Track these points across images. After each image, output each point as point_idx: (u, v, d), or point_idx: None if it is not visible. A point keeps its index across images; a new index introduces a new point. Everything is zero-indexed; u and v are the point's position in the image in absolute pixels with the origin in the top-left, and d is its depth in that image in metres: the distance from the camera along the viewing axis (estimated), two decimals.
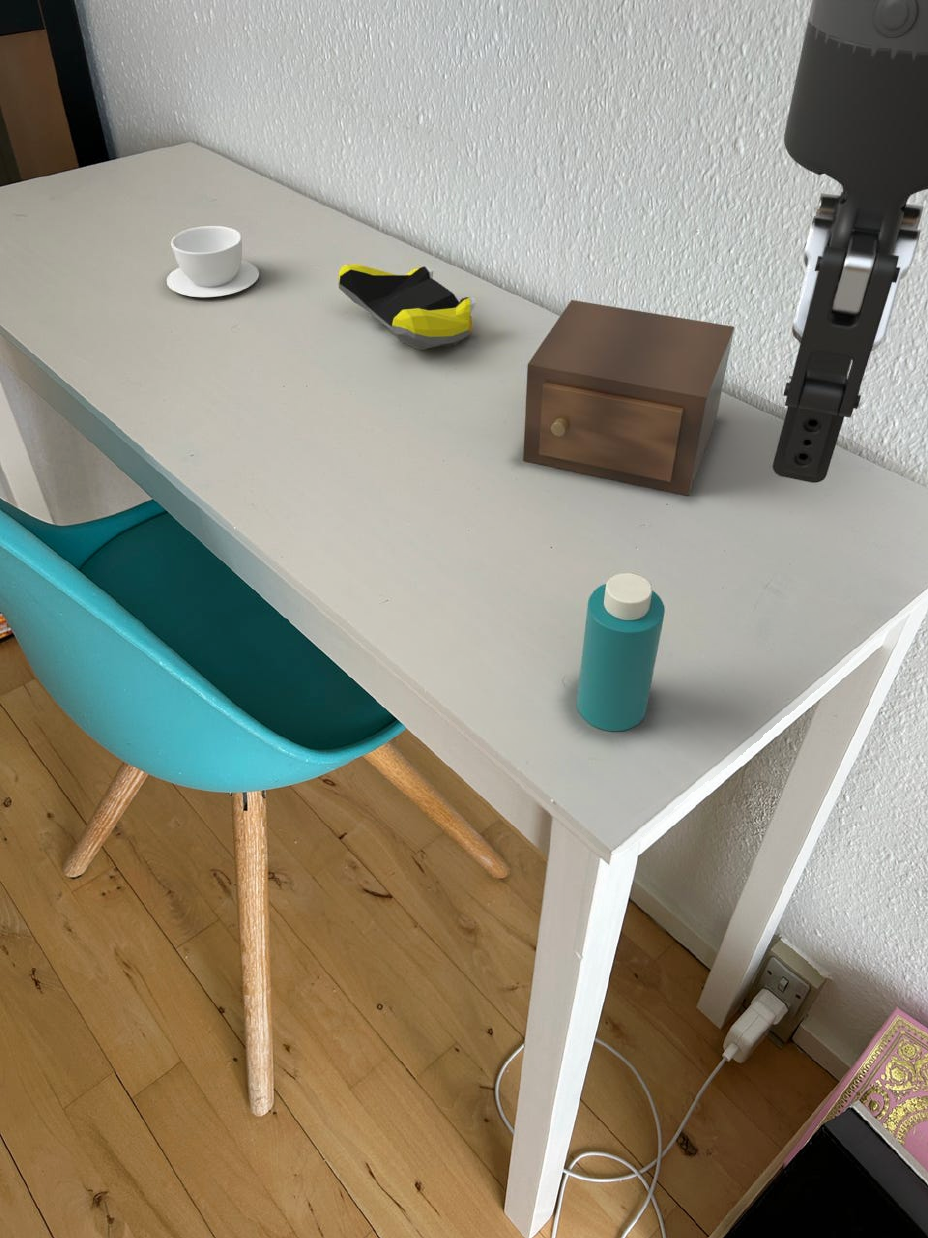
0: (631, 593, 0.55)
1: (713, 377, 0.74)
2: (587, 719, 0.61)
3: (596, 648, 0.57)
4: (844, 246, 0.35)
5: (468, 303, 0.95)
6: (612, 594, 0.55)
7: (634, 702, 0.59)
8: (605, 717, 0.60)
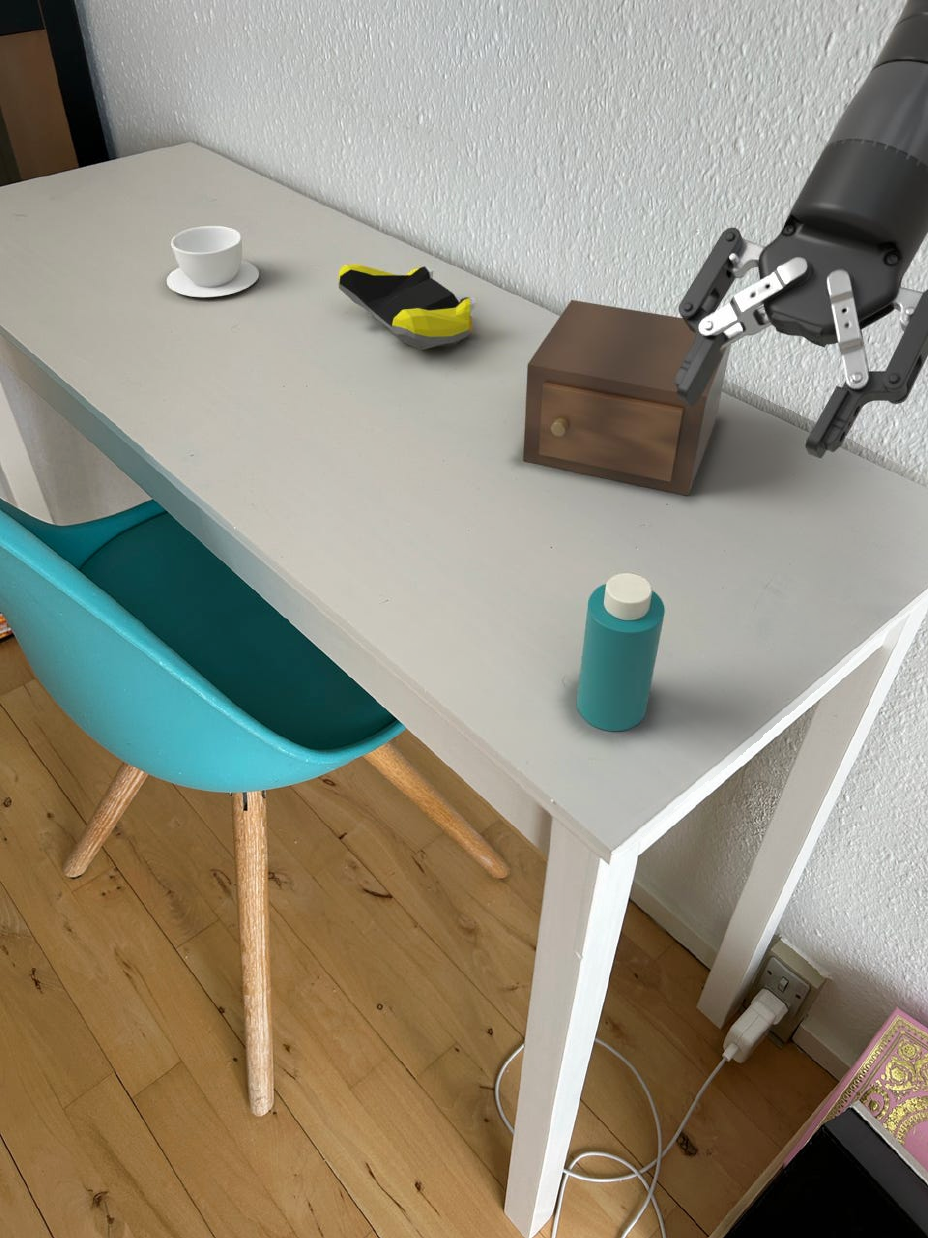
0: (631, 593, 0.55)
1: (713, 377, 0.74)
2: (587, 719, 0.61)
3: (596, 648, 0.57)
4: None
5: (468, 303, 0.95)
6: (612, 594, 0.55)
7: (634, 702, 0.59)
8: (605, 717, 0.60)
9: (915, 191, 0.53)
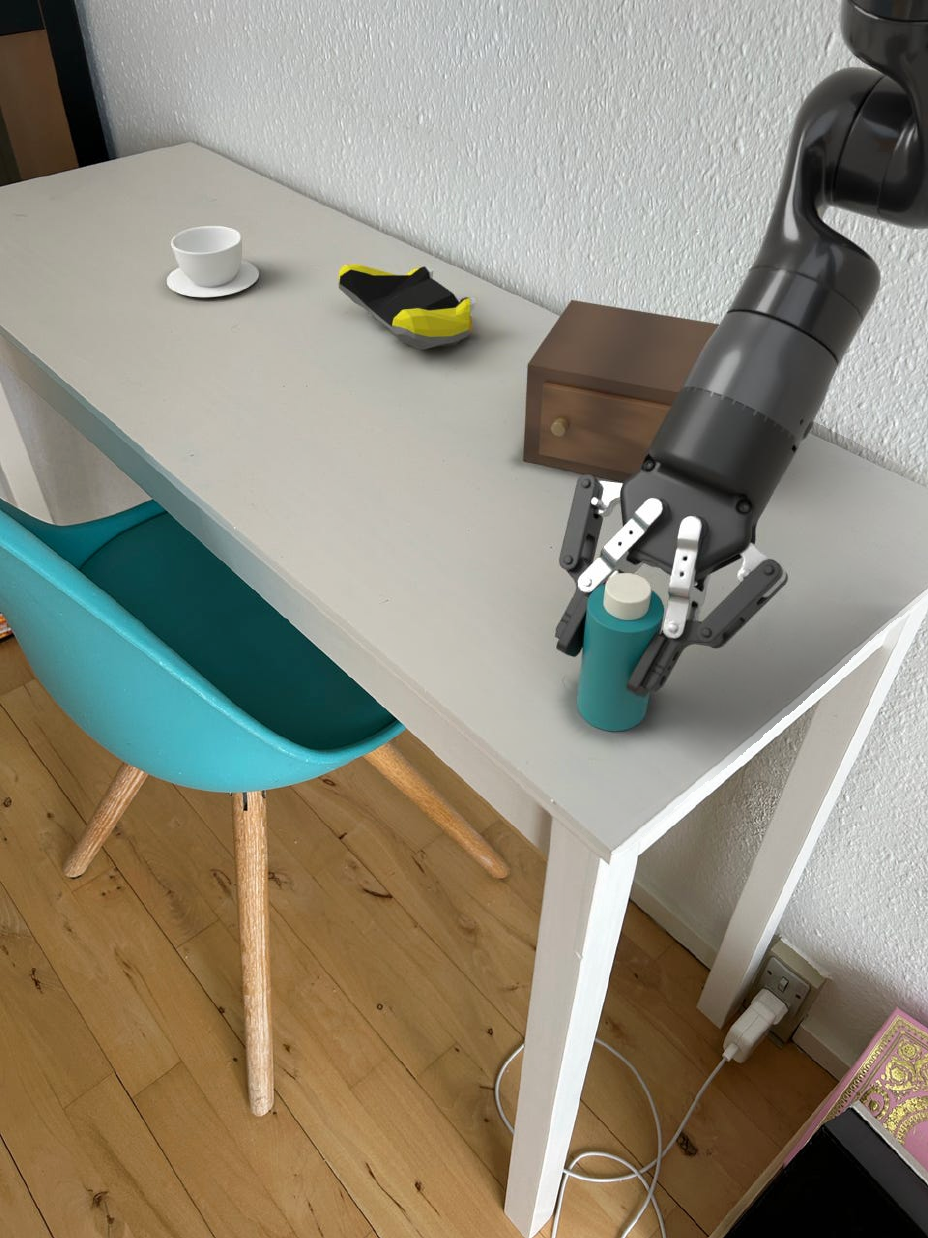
0: (630, 593, 0.55)
1: None
2: (587, 719, 0.61)
3: (596, 648, 0.57)
4: None
5: (468, 303, 0.95)
6: (611, 594, 0.55)
7: (634, 702, 0.59)
8: (605, 717, 0.60)
9: (763, 446, 0.53)
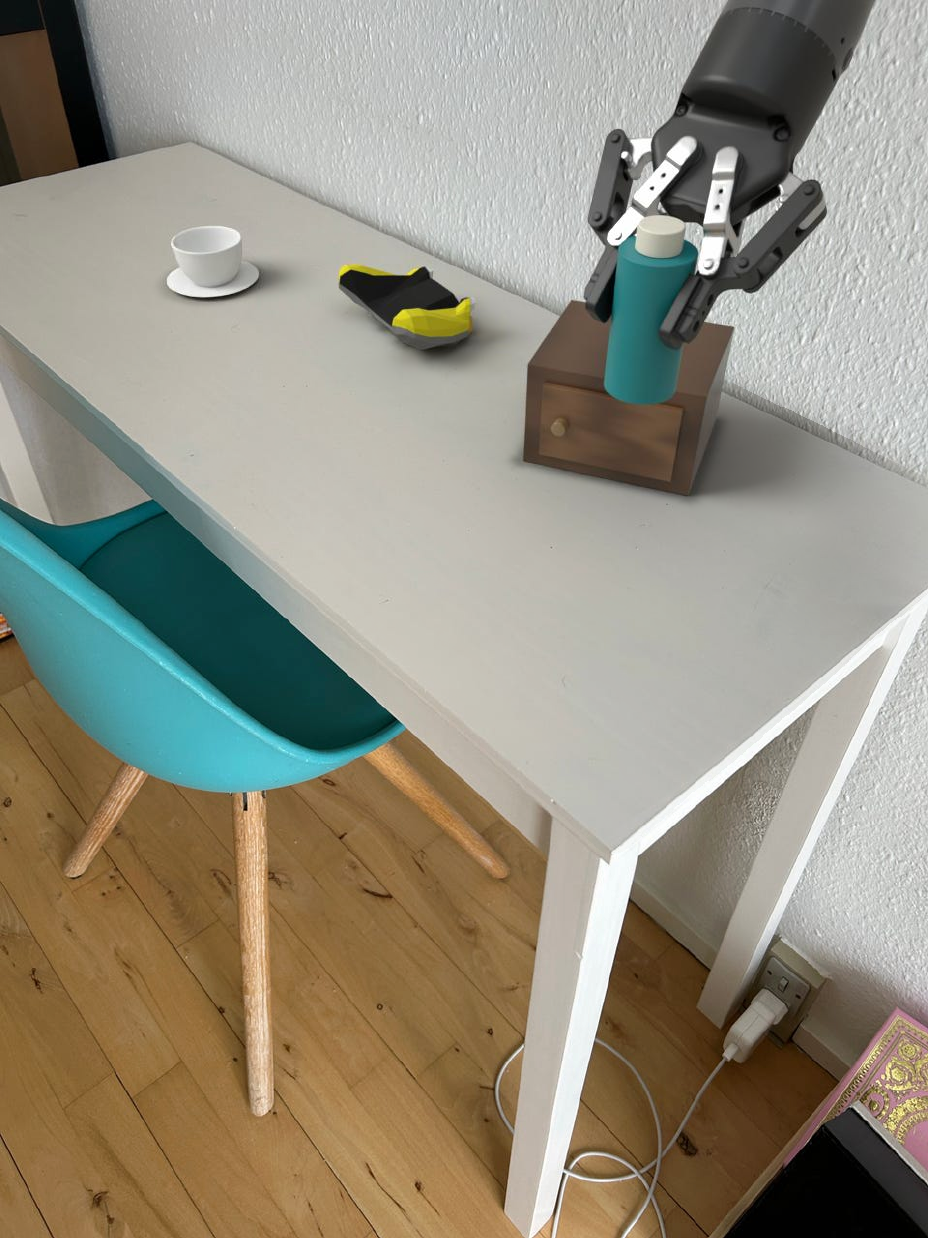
0: (664, 227, 0.53)
1: (713, 377, 0.74)
2: (615, 394, 0.59)
3: (627, 295, 0.55)
4: None
5: (468, 303, 0.95)
6: (644, 228, 0.53)
7: (665, 365, 0.57)
8: (634, 386, 0.58)
9: (803, 60, 0.51)
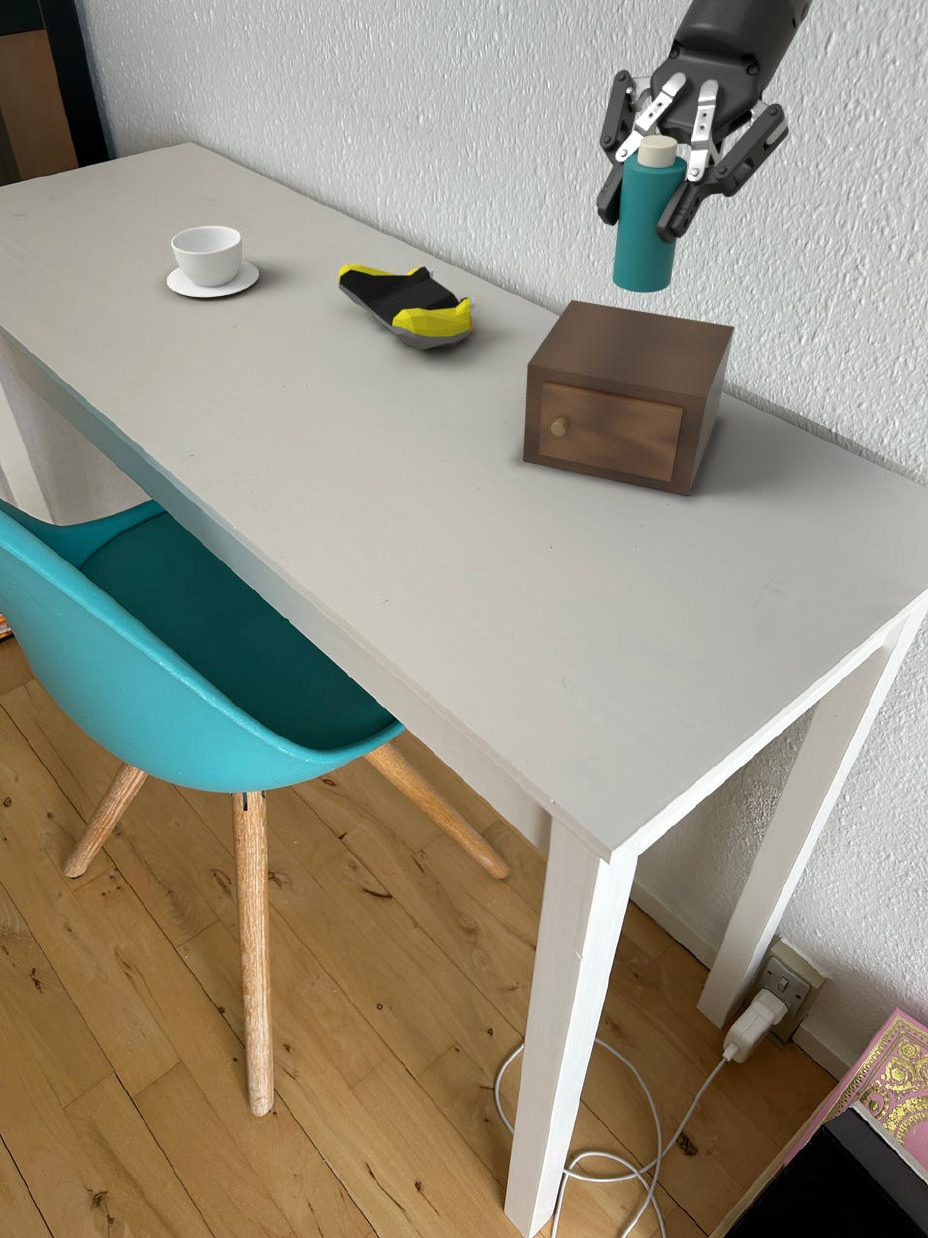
0: (660, 143, 0.67)
1: (713, 377, 0.74)
2: (622, 284, 0.73)
3: (631, 199, 0.69)
4: None
5: (468, 303, 0.95)
6: (644, 143, 0.67)
7: (661, 258, 0.71)
8: (637, 276, 0.72)
9: (769, 10, 0.65)
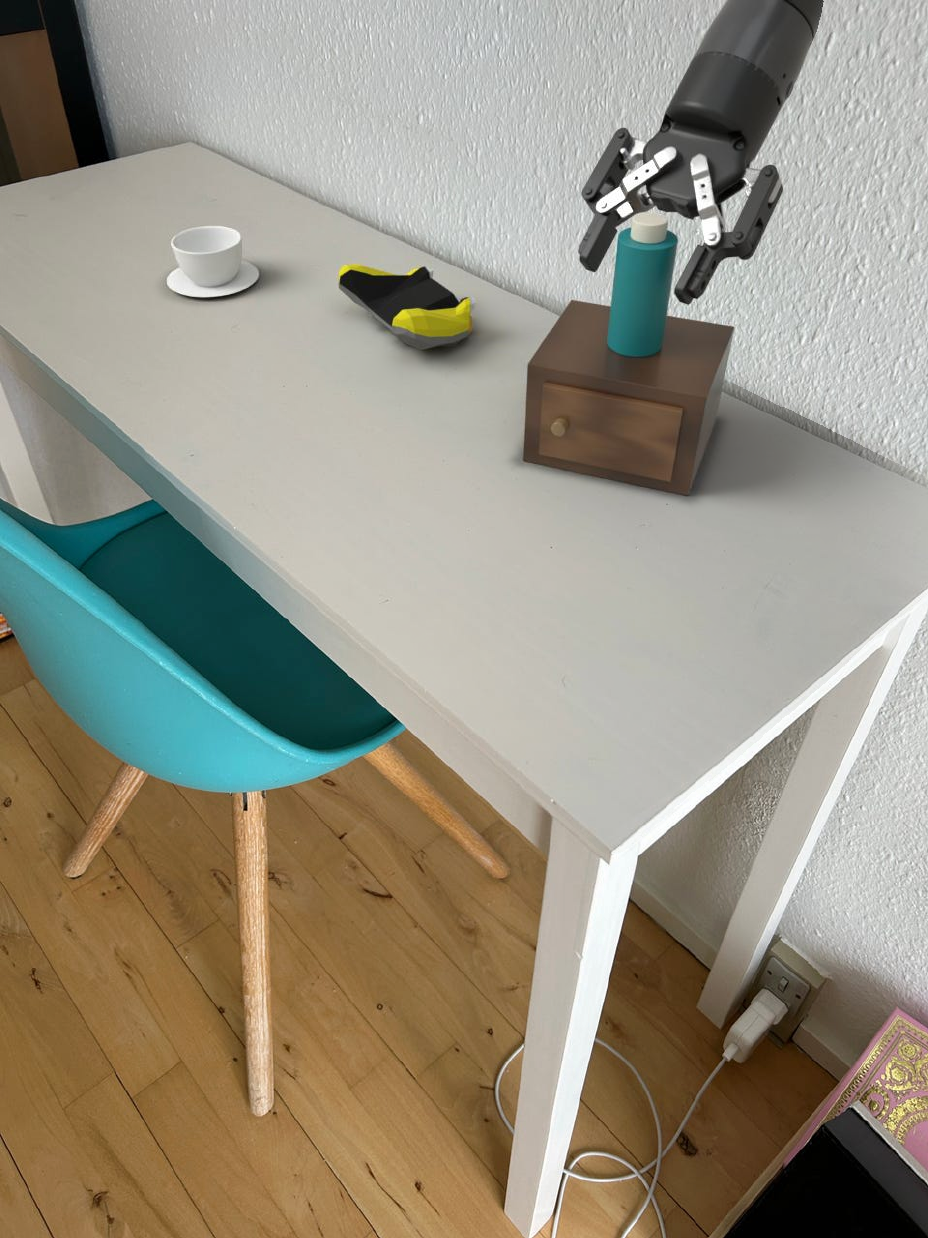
0: (652, 220, 0.71)
1: (713, 377, 0.74)
2: (616, 349, 0.77)
3: (624, 272, 0.73)
4: None
5: (468, 303, 0.95)
6: (637, 221, 0.71)
7: (653, 326, 0.75)
8: (630, 342, 0.76)
9: (754, 90, 0.69)
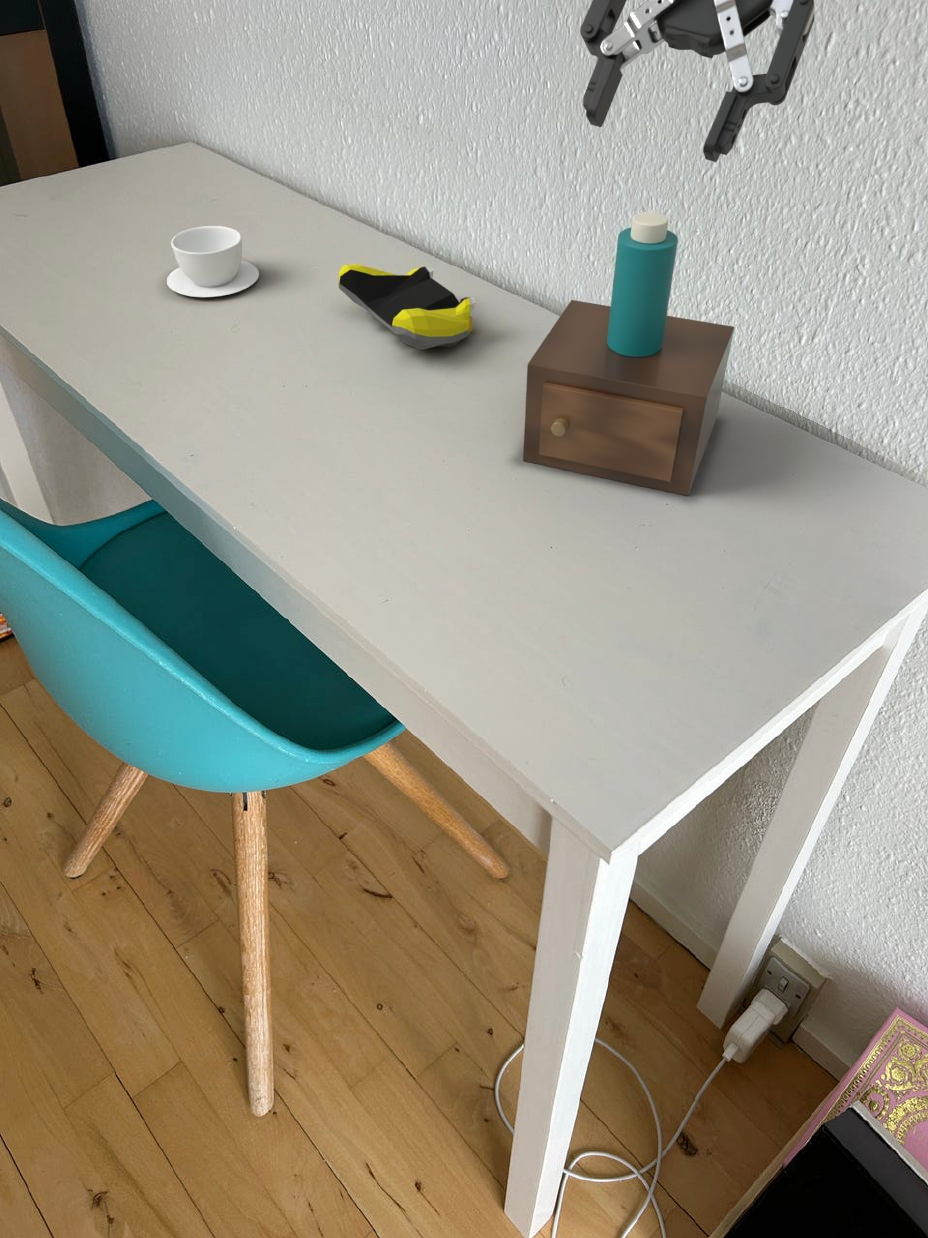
0: (652, 220, 0.71)
1: (713, 377, 0.74)
2: (616, 349, 0.77)
3: (624, 272, 0.73)
4: None
5: (468, 303, 0.95)
6: (637, 221, 0.71)
7: (653, 326, 0.75)
8: (630, 342, 0.76)
9: None
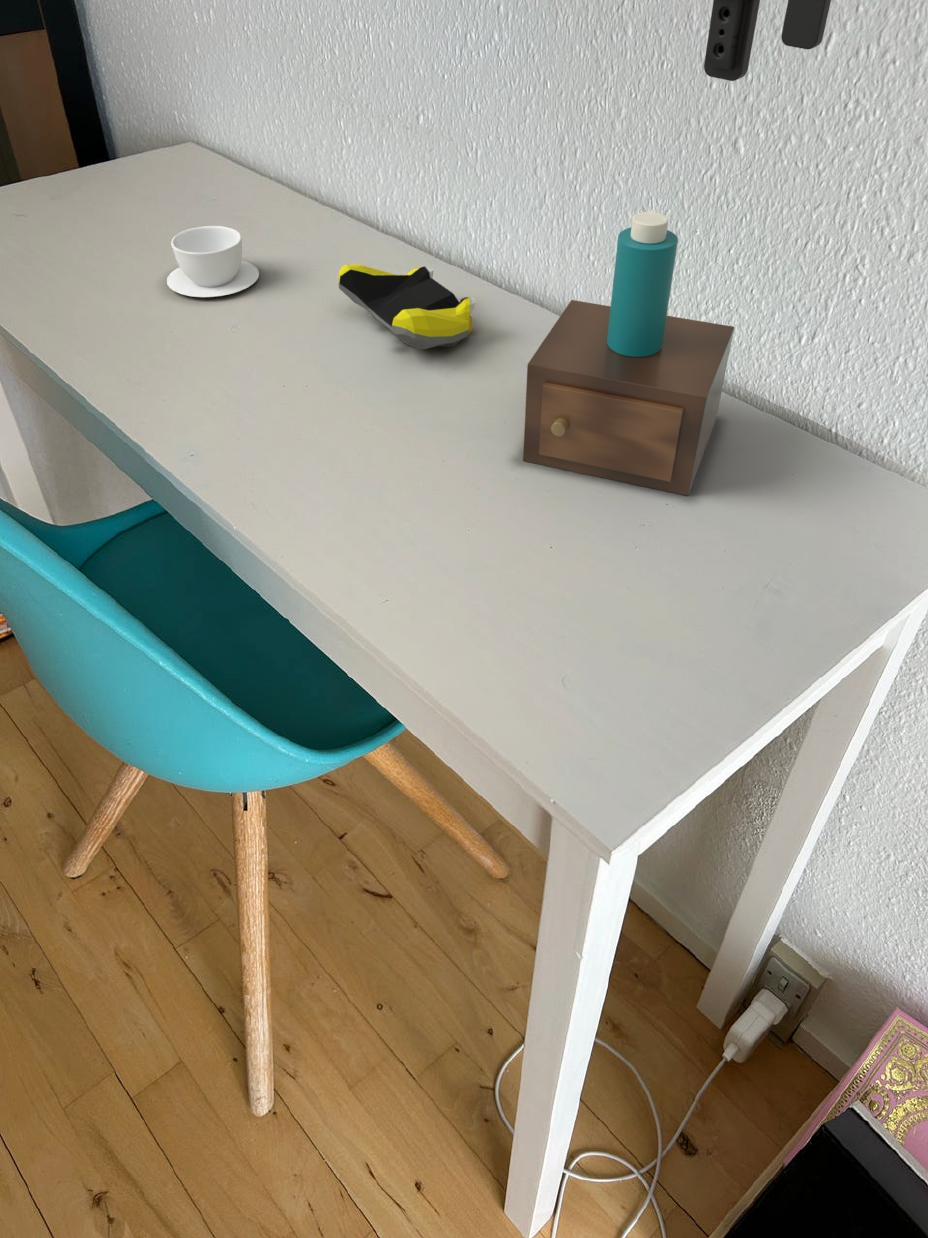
0: (652, 220, 0.71)
1: (713, 377, 0.74)
2: (616, 349, 0.77)
3: (624, 272, 0.73)
4: None
5: (468, 303, 0.95)
6: (637, 221, 0.71)
7: (653, 326, 0.75)
8: (630, 342, 0.76)
9: None
